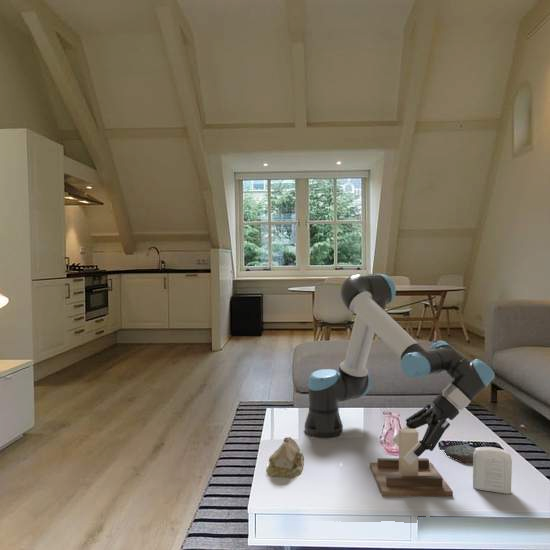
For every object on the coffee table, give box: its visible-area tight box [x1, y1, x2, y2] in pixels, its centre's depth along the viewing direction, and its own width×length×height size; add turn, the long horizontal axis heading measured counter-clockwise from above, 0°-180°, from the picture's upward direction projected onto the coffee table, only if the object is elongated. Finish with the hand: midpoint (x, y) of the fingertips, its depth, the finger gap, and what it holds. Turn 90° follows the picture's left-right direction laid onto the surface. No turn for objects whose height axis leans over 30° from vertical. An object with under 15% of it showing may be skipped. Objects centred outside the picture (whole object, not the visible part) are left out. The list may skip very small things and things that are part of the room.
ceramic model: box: [266, 436, 305, 479], centre depth 143 cm, size 14×11×10 cm
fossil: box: [443, 444, 476, 464], centre depth 151 cm, size 10×13×4 cm
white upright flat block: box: [472, 446, 513, 495], centre depth 129 cm, size 10×4×12 cm, turn 72°
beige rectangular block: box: [398, 428, 419, 476], centre depth 134 cm, size 3×5×14 cm, turn 89°
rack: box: [369, 457, 454, 497], centre depth 134 cm, size 18×20×4 cm
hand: (400, 451), depth 134 cm, fingers open, 12 cm apart
